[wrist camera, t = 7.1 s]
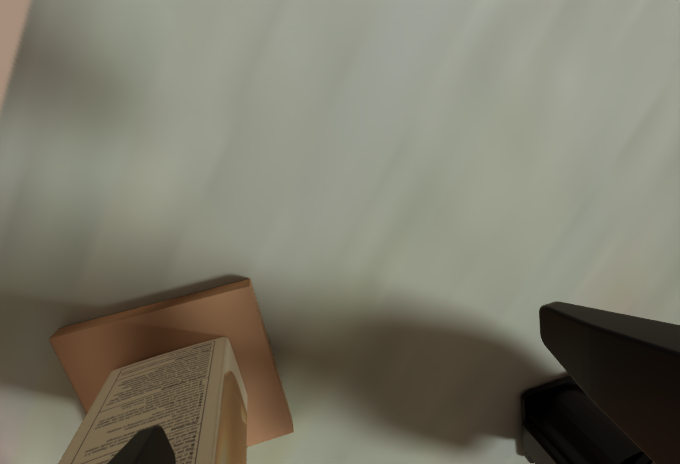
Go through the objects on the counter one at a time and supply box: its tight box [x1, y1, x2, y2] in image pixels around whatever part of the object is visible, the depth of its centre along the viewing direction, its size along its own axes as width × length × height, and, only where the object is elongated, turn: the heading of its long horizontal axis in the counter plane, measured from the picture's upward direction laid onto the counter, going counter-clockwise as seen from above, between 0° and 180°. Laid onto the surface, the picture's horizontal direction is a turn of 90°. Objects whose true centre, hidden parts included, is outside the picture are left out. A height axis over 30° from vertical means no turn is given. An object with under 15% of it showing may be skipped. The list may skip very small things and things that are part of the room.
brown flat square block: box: [49, 279, 293, 447], centre depth 22 cm, size 10×10×2 cm
